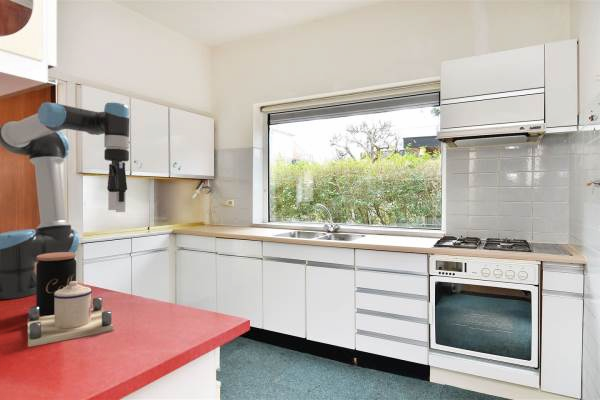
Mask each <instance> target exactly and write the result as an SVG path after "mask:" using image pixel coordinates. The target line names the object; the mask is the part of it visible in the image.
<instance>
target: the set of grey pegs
mask: <svg viewBox="0 0 600 400" xmlns="http://www.w3.org/2000/svg"><path fill="white" fill-rule="evenodd" d="M92 306H93V307H92V309H93V311H99V310H102V308H103V297H100V296H98V297H94V298H92ZM39 317H40V314H39V306H36V305H35V306H29V308H28V319H29V321H36V320H39ZM111 322H112V311H111V310H104V312H102V326H109V325H111ZM38 338H41V322H35V323H31V324H30V329H29V339H31V340H33V339H38Z"/></svg>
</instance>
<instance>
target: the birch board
mask: <svg viewBox="0 0 600 400" xmlns="http://www.w3.org/2000/svg"><path fill="white" fill-rule="evenodd" d="M104 311H105V310H104V308H103V307H102V310H99V311H93V308H91V320H90V322H89V323H87V324H85V325H83V326H79V327H75V328H57V327H56V326H55V324H54V321H55V315H51V316H45V315H43V316H39V320H36V321H29V318H27V348H30V347H34V346H41V345H45V344H51V343H57V342H61V341H67V340H72V339H76V338H81V337H82V338H83V337H87V336H93V335H97V334H99V335H100V334H103V333H108V332H109V333H110V332H113V331H114V330H115V329H114V328H115V327H114V324H113V322H112V321H111V325H109V326H102V312H104ZM35 322H41V338H38V339H33V340H31V339H29V329H30V324H31V323H35Z"/></svg>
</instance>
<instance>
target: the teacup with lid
mask: <svg viewBox="0 0 600 400" xmlns="http://www.w3.org/2000/svg"><path fill="white" fill-rule="evenodd" d="M92 293H93V290H92V288H90V287H88V286H84V285H82V284H78V281H77V280H76V281H72V282H69V285H68V286H66V287H64V288H63V289H60V290H58V291H56V292H55V293H54V297H55V321H54V324H55V326H56V327H57V328H75V327H79V326H83V325H85V324H87V323H89V322H90V320H91V309H92Z"/></svg>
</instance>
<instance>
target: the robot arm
mask: <svg viewBox="0 0 600 400" xmlns="http://www.w3.org/2000/svg"><path fill="white" fill-rule="evenodd" d="M103 110H104V111H95V110H89V109H83V108H79V107H75V106H69V105H64V104H60V103H57V102H42V103H41V105H40V106H39V108H38V111H37V113H35V114H32V115H30V116H27V117H25V118H23V119H21V120H18V121H15V120H13V121H9V122H6V123H4V124H2V125H0V146H1V147H2V148H3V149H4V150H6V151H7V152H9V153H13V154H14V155H22V156H28V157H29V159H28V160H29V162H30V163H31V164H32V165H33V166H34V170H35V173H34V174H35V180H36V181H35V182H36V190H37V191H36V192H37V193H36V194H37V201H38V210H39V212H38V213H39V223H40V224H39V225H38V226H37V227H36V229H33V228H24V229H23V228H22V229H15V230H11V231H10V230H9V231H4V232H2V233H0V300H10V299H11V300H12V299H18V298H24V297H29V296H33V295H36V264H37V263H38V260H37V258H36V257H37V256H38V255H41V254H47V253H57V252H72V253H76V254H77V251H78V248H79V245H80V236H79V234H78V232H77V230H75V229H72V224H70V223H69V222H68V221H67V218H66V217H67V216H66V208H65V199H64V190H63V188H64V187H63V181H62V171H61V170H62V169H61V164H62V163H63V162H64V161H65V158H67V157H68V155H69V150H70V143H69V140H68V138H67V136H66V135H65V134H64V133H63V132H62V130H71V131H78V132H83V133H87V134H88V135H93V136H95V135H96V136H100V135H103V134H104V135H103V137H104V138H103V139H104V140H103V142H104V143H103V144H104V145H103V146H104V148H105V149H104V152H103V153H104V160H105V161H109V162H111V163H109V164H108V178H107V179H108V180H107V187H106V189H107V191H108V193H107V194H108V197H107V198H108V206H107V207H108V208H107V209H108V211H115V212H116V213H126V193H127V192H126V191H127V190H128V184H127V176H126V175H127V174H126V163H125V162H128V161H129V160H130V151H129V150H128V149H129V148H130V145H129V144H131V140H130V139H129V137H130V118H131V117H130V108H129V106H128V105H127V104H124V103H121V102H113V101H111V102H106V103H105V105H104V109H103Z"/></svg>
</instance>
